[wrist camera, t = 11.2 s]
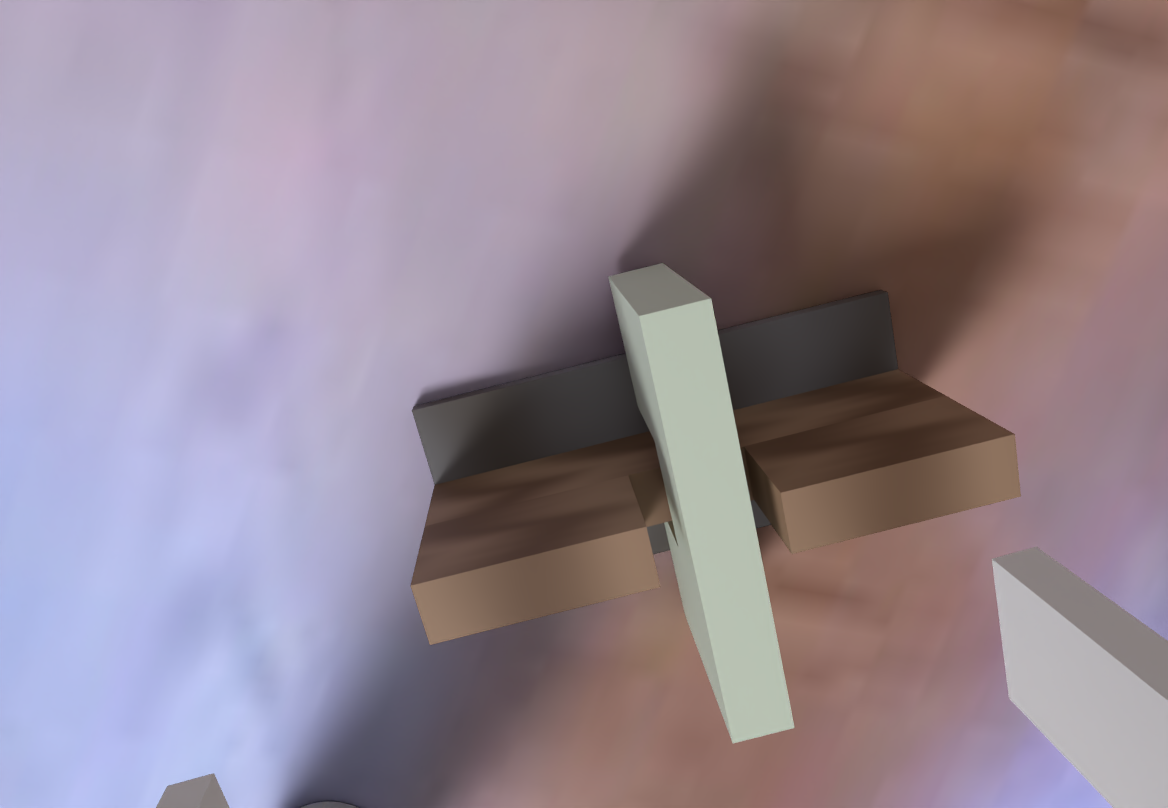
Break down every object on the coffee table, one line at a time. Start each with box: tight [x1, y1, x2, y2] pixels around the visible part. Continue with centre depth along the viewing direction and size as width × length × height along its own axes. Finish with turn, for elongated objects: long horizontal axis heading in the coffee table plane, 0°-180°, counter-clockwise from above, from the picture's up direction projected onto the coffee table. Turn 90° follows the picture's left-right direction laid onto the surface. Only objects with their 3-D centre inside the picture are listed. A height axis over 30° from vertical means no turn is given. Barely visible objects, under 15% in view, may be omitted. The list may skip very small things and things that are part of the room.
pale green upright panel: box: [608, 263, 794, 743], centre depth 29 cm, size 14×2×8 cm, turn 13°
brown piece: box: [411, 290, 1021, 645], centre depth 30 cm, size 18×8×9 cm, turn 103°
